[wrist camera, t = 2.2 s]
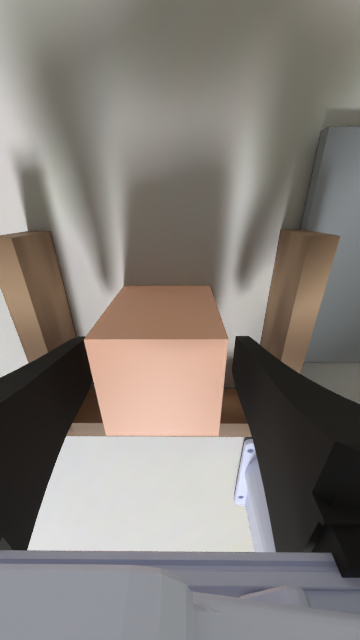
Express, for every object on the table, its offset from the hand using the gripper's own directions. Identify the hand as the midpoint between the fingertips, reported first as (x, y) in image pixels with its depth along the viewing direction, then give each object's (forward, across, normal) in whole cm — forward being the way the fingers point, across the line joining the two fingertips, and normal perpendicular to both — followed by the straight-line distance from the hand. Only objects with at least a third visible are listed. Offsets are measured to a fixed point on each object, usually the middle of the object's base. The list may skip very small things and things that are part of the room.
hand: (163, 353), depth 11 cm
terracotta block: (+3, 0, 0) cm, 3 cm away
